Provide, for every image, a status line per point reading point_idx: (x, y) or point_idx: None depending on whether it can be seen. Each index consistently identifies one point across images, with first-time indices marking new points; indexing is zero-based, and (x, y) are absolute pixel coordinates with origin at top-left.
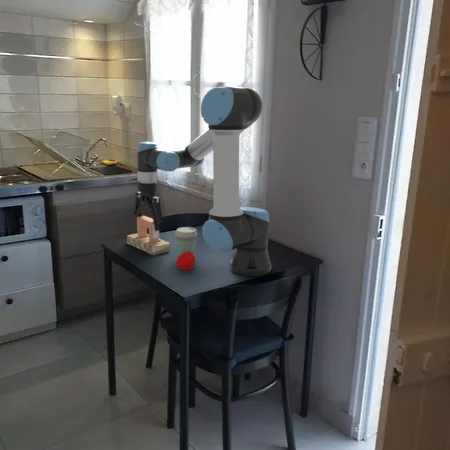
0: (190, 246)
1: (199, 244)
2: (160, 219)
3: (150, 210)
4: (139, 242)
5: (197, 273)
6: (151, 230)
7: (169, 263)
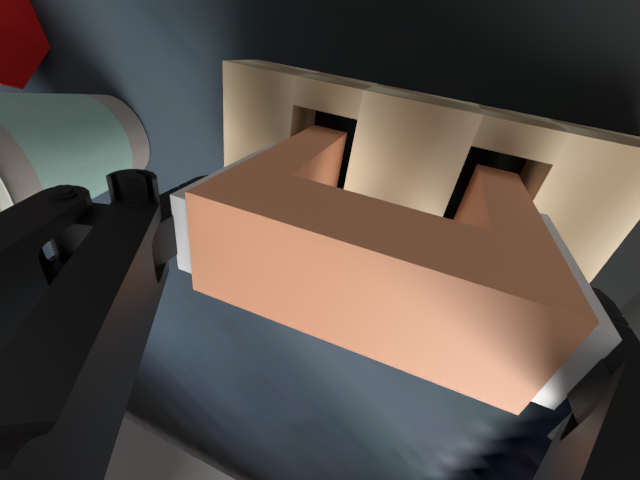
0: None
1: (241, 331)
2: (51, 242)
3: (64, 349)
4: (429, 100)
5: None
6: (250, 158)
7: (102, 15)
